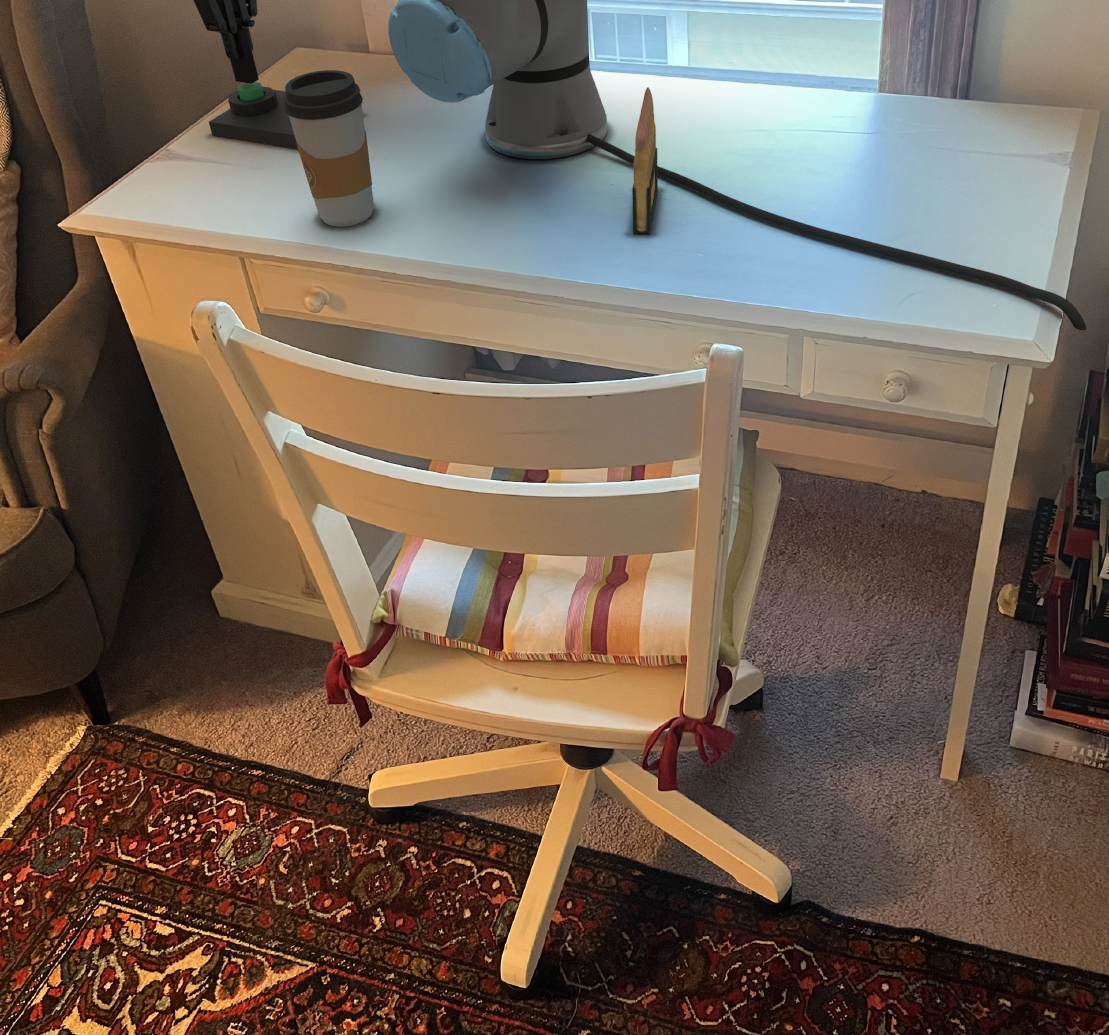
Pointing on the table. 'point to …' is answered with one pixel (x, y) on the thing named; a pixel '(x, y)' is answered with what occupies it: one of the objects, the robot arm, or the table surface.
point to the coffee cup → (332, 144)
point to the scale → (256, 120)
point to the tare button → (250, 91)
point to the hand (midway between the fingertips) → (247, 80)
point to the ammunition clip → (645, 168)
